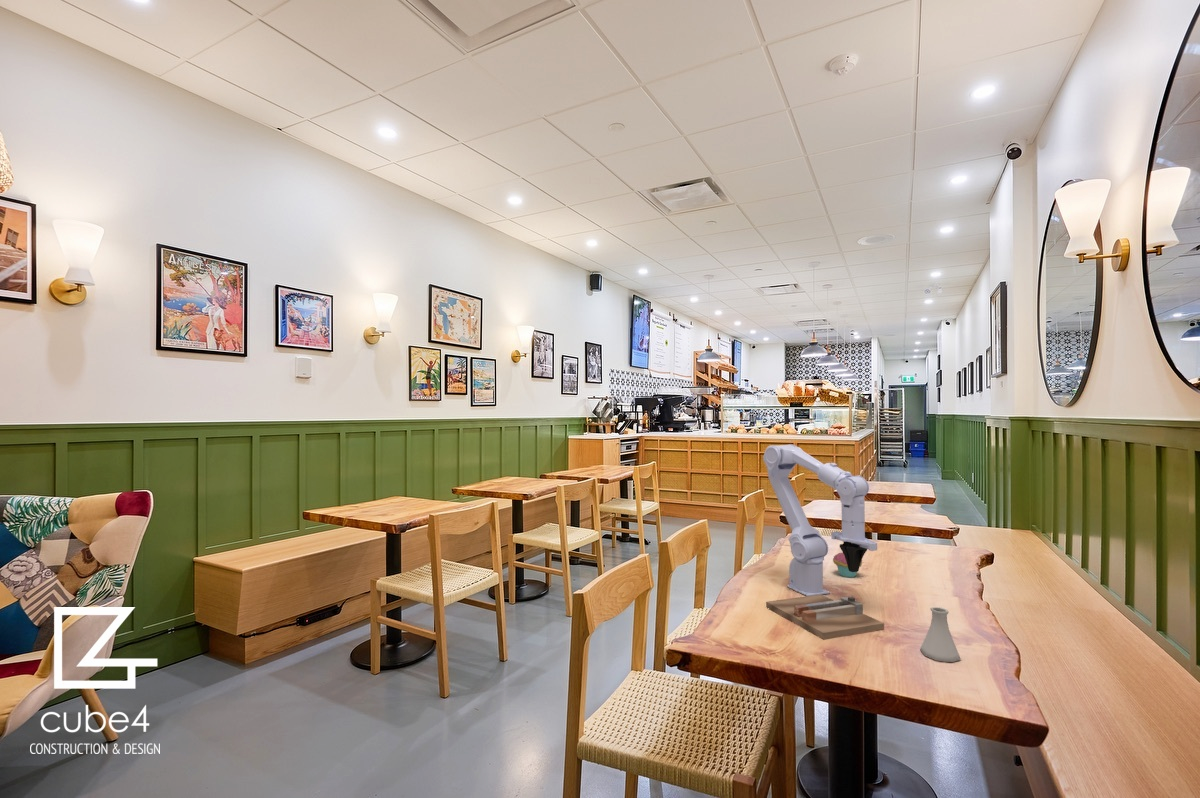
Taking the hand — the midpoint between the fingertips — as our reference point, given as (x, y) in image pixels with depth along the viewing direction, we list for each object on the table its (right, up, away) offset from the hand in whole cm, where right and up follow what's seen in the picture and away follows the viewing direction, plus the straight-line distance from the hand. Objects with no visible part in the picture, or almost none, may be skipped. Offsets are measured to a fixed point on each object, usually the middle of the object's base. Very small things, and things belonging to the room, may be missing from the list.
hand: (853, 571), depth 150 cm
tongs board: (-12, -9, -8) cm, 17 cm away
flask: (+5, -9, -30) cm, 32 cm away
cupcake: (+11, -10, +28) cm, 31 cm away
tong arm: (-13, -8, -9) cm, 17 cm away
